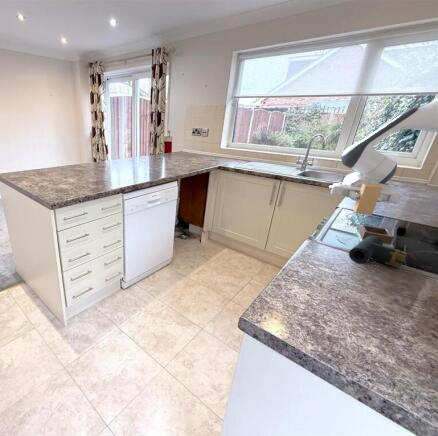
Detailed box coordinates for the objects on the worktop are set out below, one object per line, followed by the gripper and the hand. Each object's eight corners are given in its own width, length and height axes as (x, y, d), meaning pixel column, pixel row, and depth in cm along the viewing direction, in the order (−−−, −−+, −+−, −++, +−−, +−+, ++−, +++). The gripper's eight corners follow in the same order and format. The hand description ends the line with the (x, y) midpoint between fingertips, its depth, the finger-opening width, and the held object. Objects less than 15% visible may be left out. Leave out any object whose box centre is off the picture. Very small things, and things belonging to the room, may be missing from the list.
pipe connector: (412, 246, 78) (400, 260, 69) (405, 260, 80) (393, 276, 71) (366, 233, 86) (351, 244, 78) (361, 246, 88) (346, 259, 80)
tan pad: (353, 209, 91) (362, 183, 87) (368, 211, 89) (379, 184, 85) (355, 213, 87) (365, 185, 83) (371, 215, 85) (382, 187, 81)
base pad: (354, 231, 100) (358, 222, 98) (383, 236, 96) (387, 227, 94) (360, 243, 90) (364, 233, 89) (392, 249, 86) (397, 239, 85)
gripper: (331, 178, 100) (335, 185, 89) (397, 185, 91) (411, 194, 79) (326, 192, 102) (329, 201, 91) (390, 201, 93) (403, 212, 82)
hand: (368, 198), depth 85 cm, fingers closed on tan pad, 4 cm apart
